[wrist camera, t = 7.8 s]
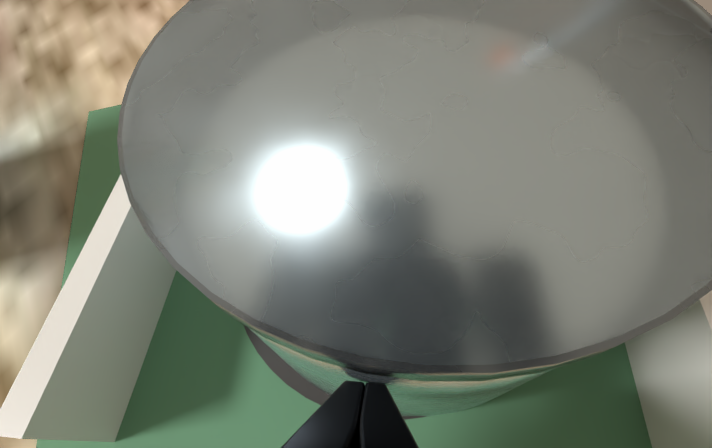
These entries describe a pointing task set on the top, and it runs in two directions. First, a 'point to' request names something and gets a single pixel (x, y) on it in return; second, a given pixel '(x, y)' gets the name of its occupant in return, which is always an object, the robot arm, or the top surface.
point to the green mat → (288, 407)
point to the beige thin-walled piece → (262, 348)
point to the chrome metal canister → (429, 180)
